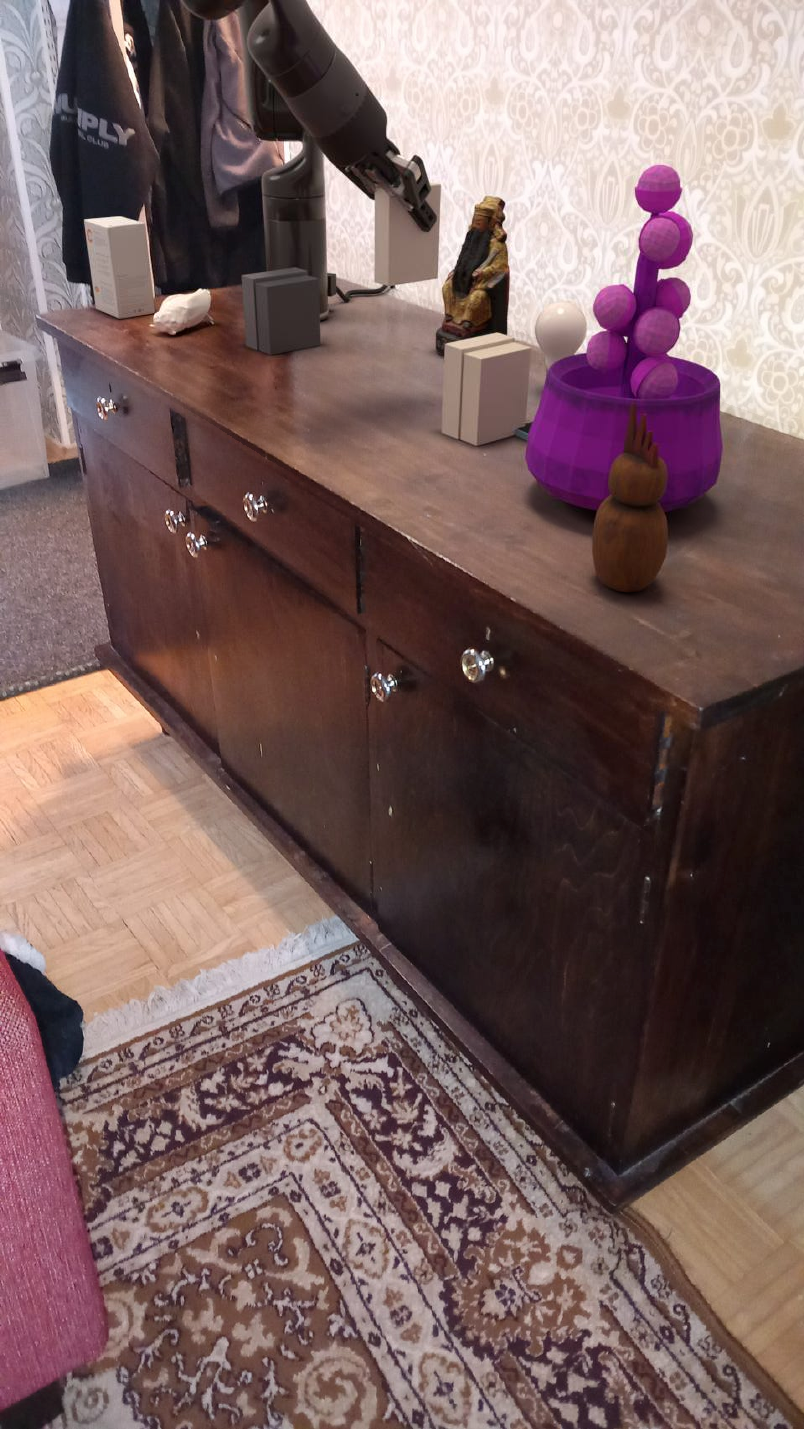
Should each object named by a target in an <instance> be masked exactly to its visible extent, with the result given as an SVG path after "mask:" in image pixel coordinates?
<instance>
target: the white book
mask: <svg viewBox="0 0 804 1429" xmlns="http://www.w3.org/2000/svg"><path fill="white" fill-rule="evenodd" d="M429 183H430V187H431V192H430V193H429V195H428V196H427V197H426V199H425V200H426V201H427V203H428V204H429V206H430V207H431V208H432V210H433V211H434V213H435V214H436V215H437V221H436V223H435V224H434V226H433V227H432V229H431V230H430V231H429V232H423V231H422V230H421V229H420V228H419V226H418V225H417V223H416V222H415V221H414V219H413V218H412V217H411V215H410V214H409V213H408V211H407V210H406V209H405V208H404V207H403V205H402V204H401V203H400V202H399V201H398V199H397V198H392V197H390V196H388V195H387V193H386V192H385V191H384V190H383V189H382V188H381V186H376V188H375V200H374V277H373V278H374V280H373V281H374V282H373V283H376V284H379V285H381V286H383V285H386V286H388V287H390V286H393V285H395V286H398V285H406V284H411V283H418V282H424V281H429V280H437V279H438V278H439V254H440V228H441V227H440V225H441V222H440V221H441V195H442V184H441V183H436V182H431V181H429ZM392 186H393V185H392ZM403 193H404V195H405V196H406V197H408V196H407V193H406V190H405V189H404V191H403Z"/></svg>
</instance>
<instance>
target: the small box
mask: <svg viewBox="0 0 804 1429" xmlns="http://www.w3.org/2000/svg"><path fill="white" fill-rule="evenodd" d="M83 224H84V229H85V230H84V232H85V237H86V238H85V239H86V246H87V253H88V262H89V267H90V268H89V269H90V275H91V282H92V289H93V296H94V305H95V309H96V310H98V311H99V312H103V313H105V314H108V315H110V316H112V317H114V318H116V319H119V320H120V319H128V318H133V317H139V316H145V315H151V314H155V313H156V310H155V309H156V308H155V299H154V291H153V283H152V273H151V265H150V256H149V248H148V238H147V230H146V223H145V222H142V221H138V220H136V219H135V220H134V219H131V218H129V217H128V218H127V217H125V216H121V215H119V216H117V215H116V216H109V217H107V216H105V217H97V218H85V219H83Z"/></svg>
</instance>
